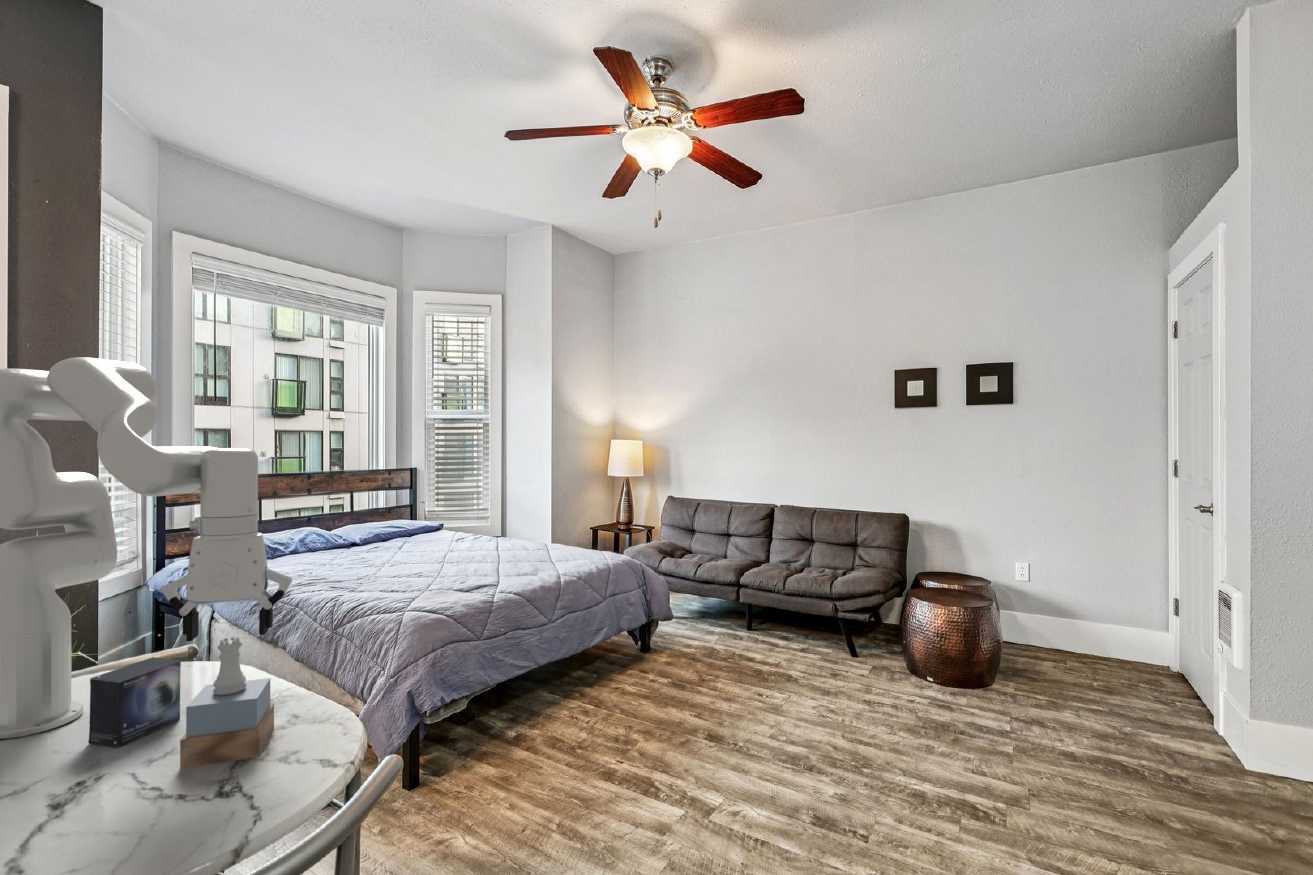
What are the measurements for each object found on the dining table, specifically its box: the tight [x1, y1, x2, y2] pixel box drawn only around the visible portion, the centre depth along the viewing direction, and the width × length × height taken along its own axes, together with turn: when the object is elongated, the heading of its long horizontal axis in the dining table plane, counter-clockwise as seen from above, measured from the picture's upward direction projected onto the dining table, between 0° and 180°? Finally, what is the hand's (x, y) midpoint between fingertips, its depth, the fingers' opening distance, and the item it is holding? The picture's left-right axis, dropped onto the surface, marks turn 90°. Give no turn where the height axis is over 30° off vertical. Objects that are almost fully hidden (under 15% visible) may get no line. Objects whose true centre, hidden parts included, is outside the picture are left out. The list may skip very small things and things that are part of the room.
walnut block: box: [179, 703, 275, 770], centre depth 99 cm, size 10×10×4 cm
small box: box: [87, 656, 182, 748], centre depth 105 cm, size 11×6×10 cm, turn 168°
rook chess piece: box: [212, 636, 247, 696], centre depth 100 cm, size 4×4×8 cm
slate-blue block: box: [185, 677, 271, 738], centre depth 99 cm, size 9×9×4 cm
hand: (228, 635), depth 100 cm, fingers open, 9 cm apart
